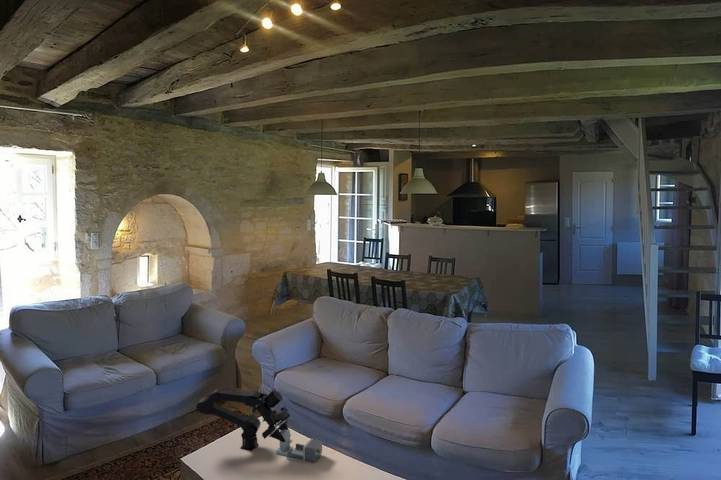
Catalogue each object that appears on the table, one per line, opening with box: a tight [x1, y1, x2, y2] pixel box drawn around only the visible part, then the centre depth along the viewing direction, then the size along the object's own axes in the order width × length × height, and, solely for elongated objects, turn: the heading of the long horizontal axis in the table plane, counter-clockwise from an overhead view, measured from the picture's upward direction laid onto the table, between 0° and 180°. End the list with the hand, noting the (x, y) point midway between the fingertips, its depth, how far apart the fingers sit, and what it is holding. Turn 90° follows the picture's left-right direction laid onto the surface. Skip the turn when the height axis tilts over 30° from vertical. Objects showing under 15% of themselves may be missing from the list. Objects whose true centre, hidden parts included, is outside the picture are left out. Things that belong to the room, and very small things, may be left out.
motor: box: [286, 437, 323, 463], centre depth 233 cm, size 15×11×7 cm
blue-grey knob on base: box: [275, 429, 294, 457], centre depth 236 cm, size 6×6×10 cm
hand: (287, 439), depth 236 cm, fingers closed on blue-grey knob on base, 5 cm apart
